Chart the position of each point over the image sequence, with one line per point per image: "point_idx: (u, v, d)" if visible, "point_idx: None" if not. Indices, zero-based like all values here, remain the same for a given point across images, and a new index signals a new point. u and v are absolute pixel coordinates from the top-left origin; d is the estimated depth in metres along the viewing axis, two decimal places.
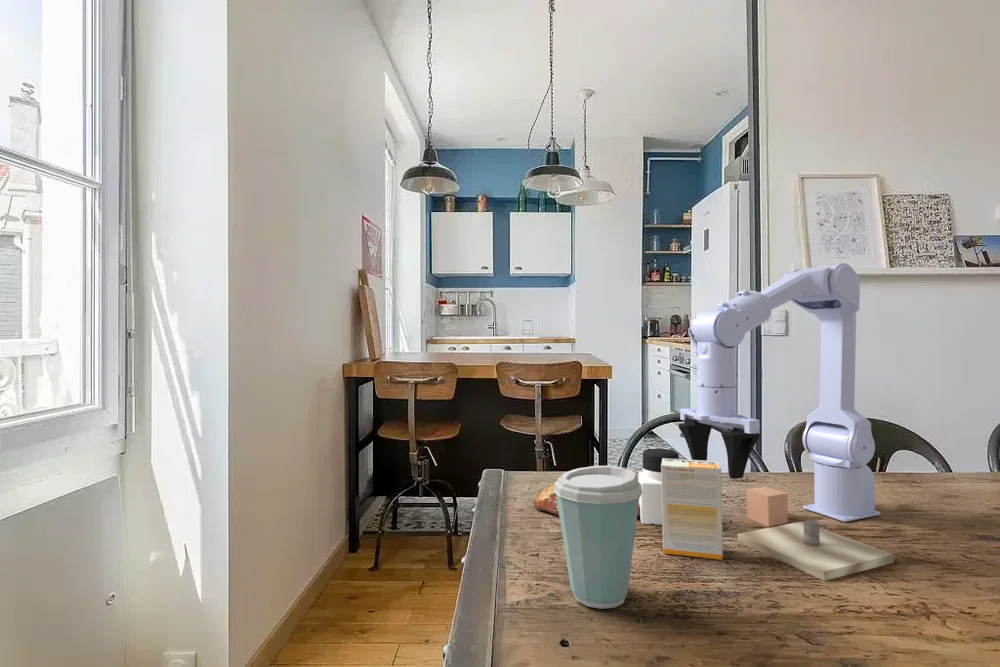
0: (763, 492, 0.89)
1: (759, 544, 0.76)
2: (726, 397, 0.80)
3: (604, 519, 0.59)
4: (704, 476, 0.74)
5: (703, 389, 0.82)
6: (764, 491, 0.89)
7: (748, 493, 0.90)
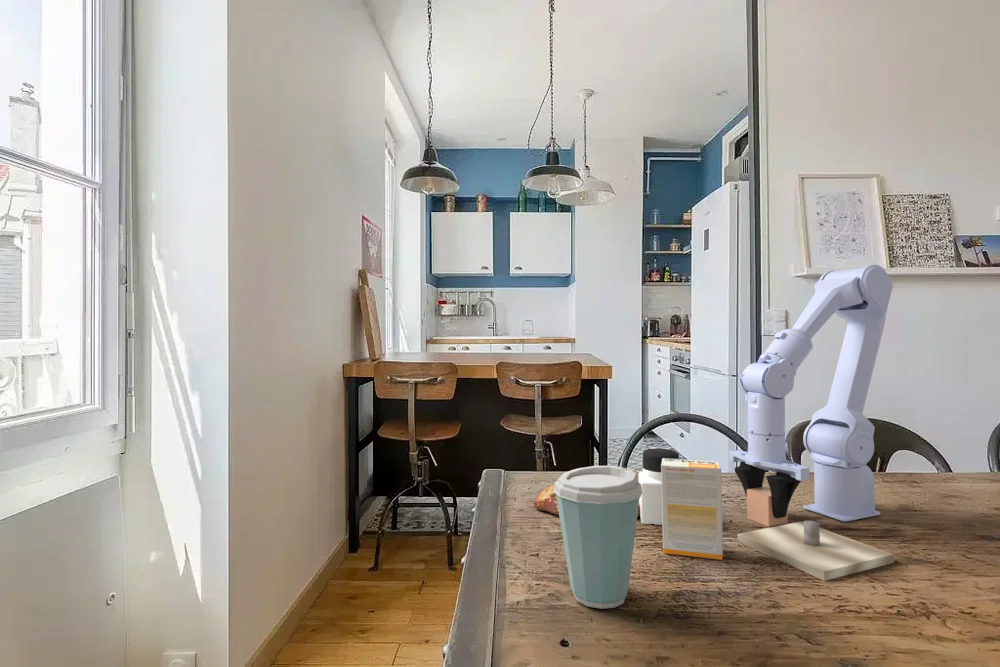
0: (763, 492, 0.89)
1: (759, 544, 0.76)
2: (777, 444, 0.87)
3: (604, 520, 0.59)
4: (704, 476, 0.74)
5: (754, 436, 0.88)
6: (764, 491, 0.89)
7: (748, 493, 0.90)
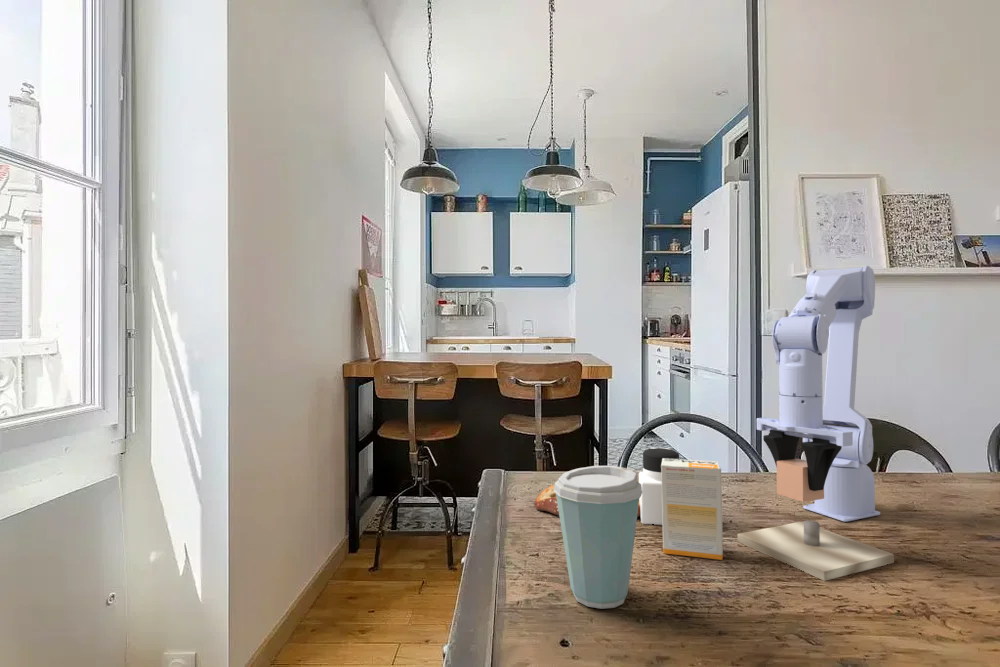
0: (796, 463, 0.78)
1: (759, 544, 0.76)
2: (813, 407, 0.76)
3: (604, 519, 0.59)
4: (704, 476, 0.74)
5: (787, 398, 0.78)
6: (797, 462, 0.79)
7: (778, 465, 0.80)
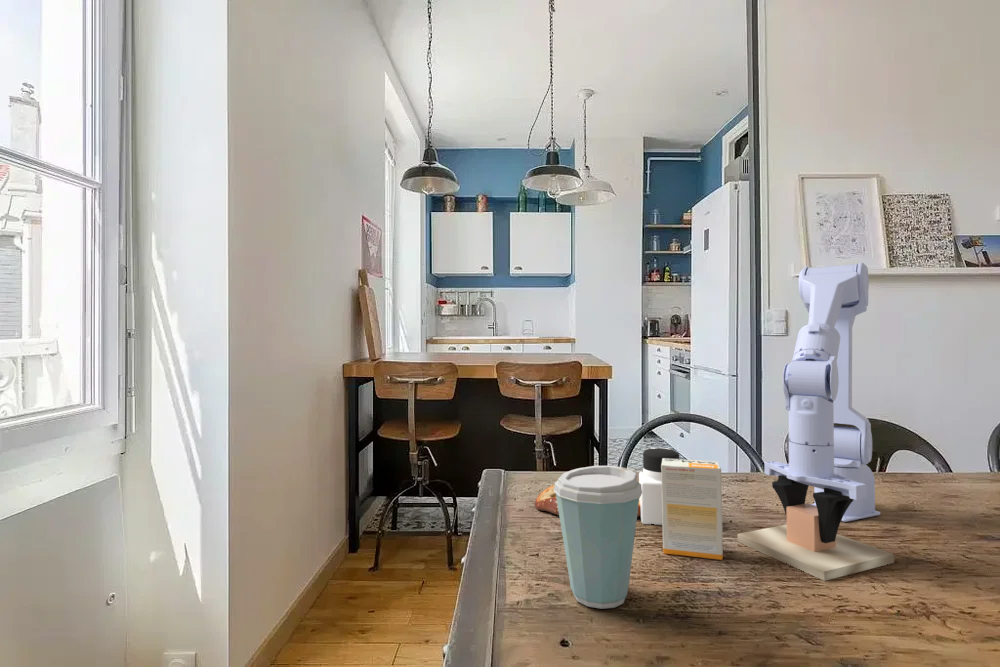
0: (807, 510, 0.76)
1: (759, 544, 0.76)
2: (825, 456, 0.74)
3: (604, 519, 0.59)
4: (704, 476, 0.74)
5: (798, 446, 0.75)
6: (807, 509, 0.76)
7: (788, 511, 0.77)
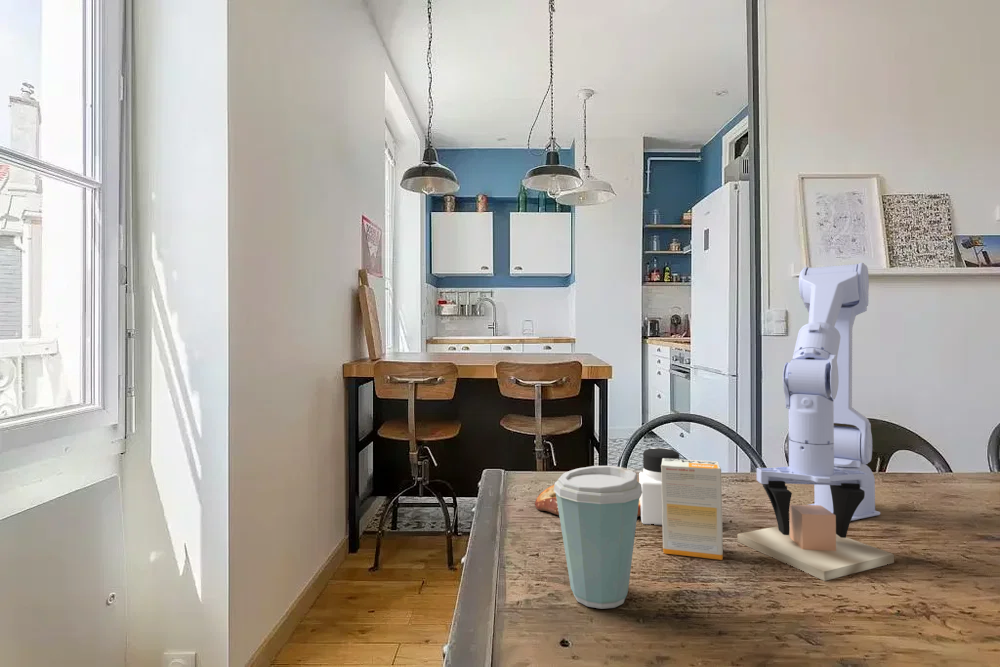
0: (817, 512, 0.75)
1: (759, 544, 0.76)
2: None
3: (604, 520, 0.59)
4: (704, 476, 0.74)
5: (821, 447, 0.74)
6: (812, 510, 0.76)
7: (805, 518, 0.74)
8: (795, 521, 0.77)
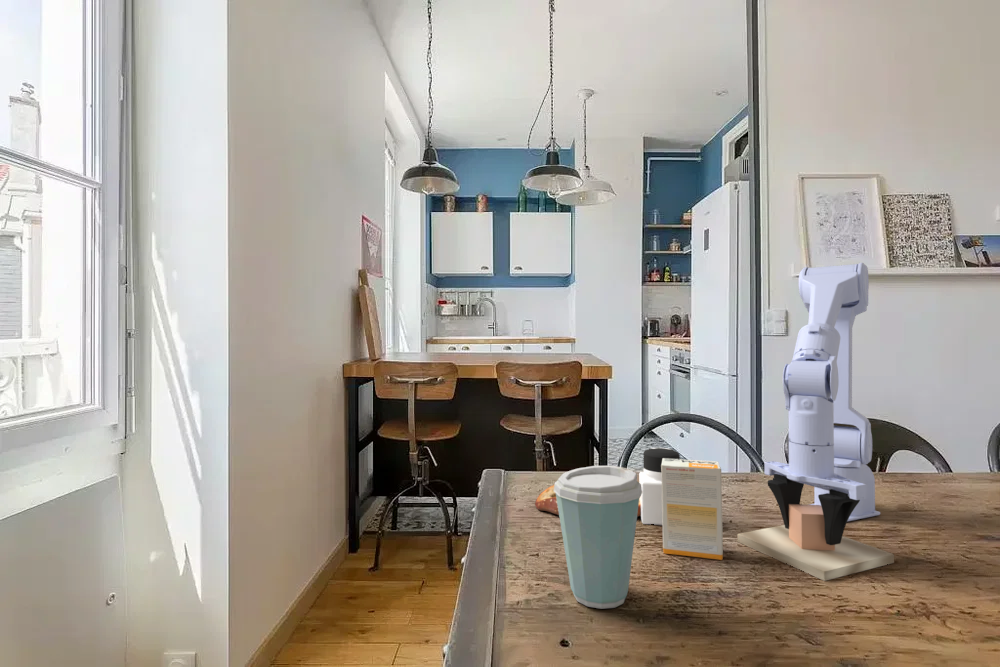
0: (816, 511, 0.75)
1: (759, 544, 0.76)
2: (825, 456, 0.74)
3: (604, 519, 0.59)
4: (704, 476, 0.74)
5: (798, 446, 0.75)
6: (811, 510, 0.76)
7: (804, 518, 0.74)
8: (794, 521, 0.77)
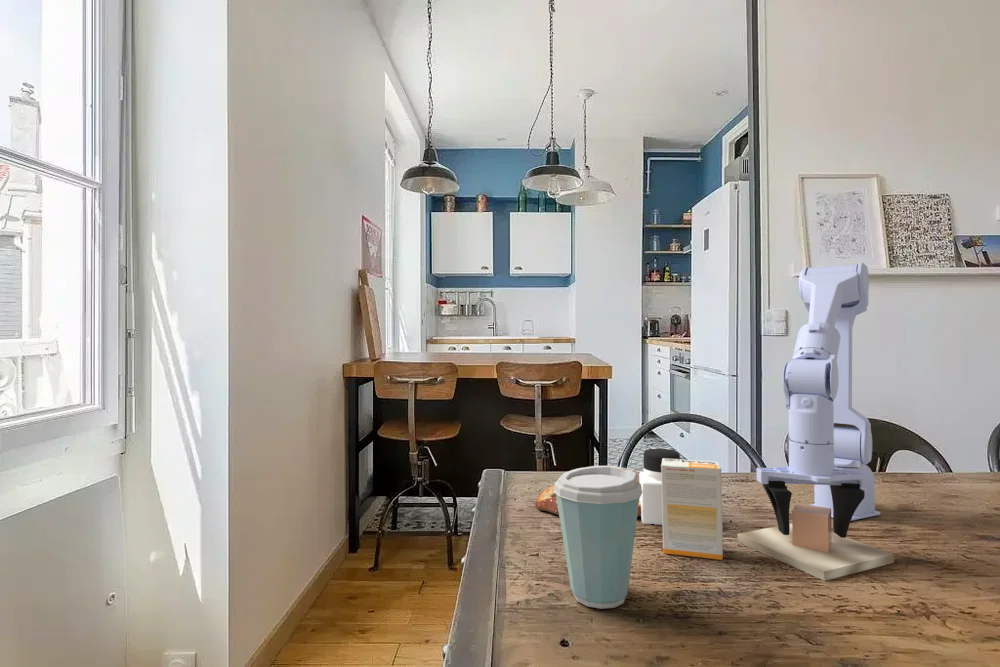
0: (820, 510, 0.76)
1: (759, 544, 0.76)
2: None
3: (604, 519, 0.59)
4: (704, 476, 0.74)
5: (821, 447, 0.74)
6: (814, 510, 0.76)
7: (827, 520, 0.73)
8: (808, 526, 0.75)
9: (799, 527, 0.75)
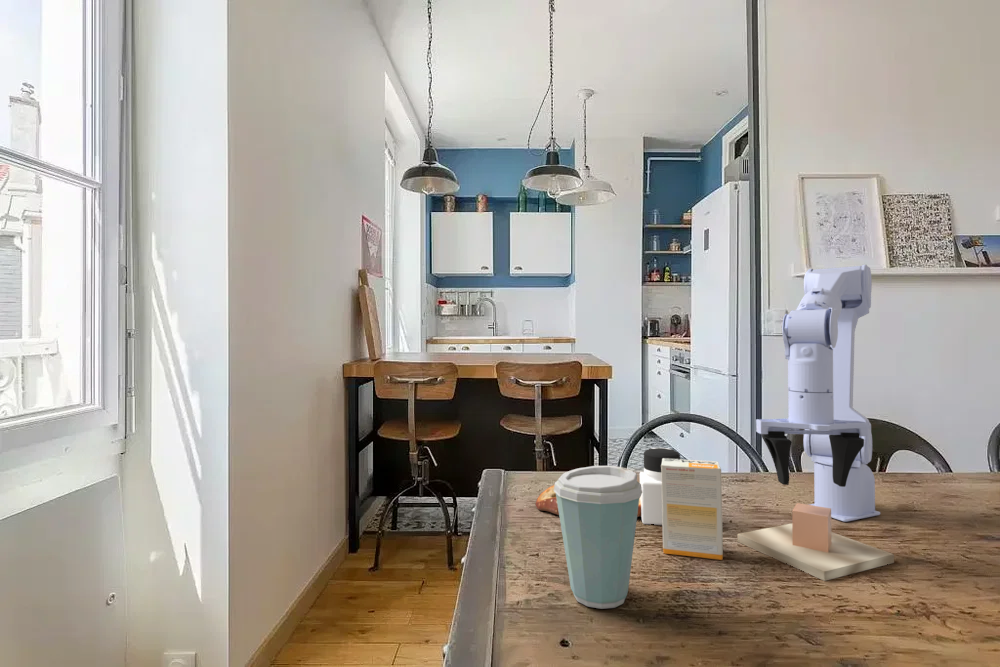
0: (820, 510, 0.76)
1: (759, 544, 0.76)
2: (833, 401, 0.75)
3: (604, 519, 0.59)
4: (704, 476, 0.74)
5: (820, 396, 0.74)
6: (814, 510, 0.76)
7: (827, 520, 0.73)
8: (808, 526, 0.75)
9: (799, 527, 0.75)
